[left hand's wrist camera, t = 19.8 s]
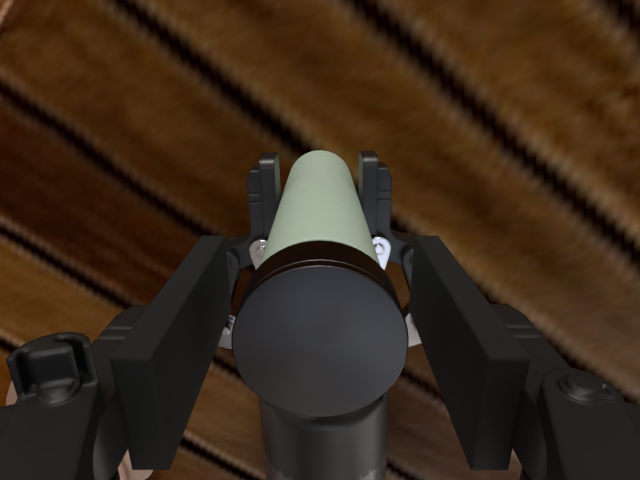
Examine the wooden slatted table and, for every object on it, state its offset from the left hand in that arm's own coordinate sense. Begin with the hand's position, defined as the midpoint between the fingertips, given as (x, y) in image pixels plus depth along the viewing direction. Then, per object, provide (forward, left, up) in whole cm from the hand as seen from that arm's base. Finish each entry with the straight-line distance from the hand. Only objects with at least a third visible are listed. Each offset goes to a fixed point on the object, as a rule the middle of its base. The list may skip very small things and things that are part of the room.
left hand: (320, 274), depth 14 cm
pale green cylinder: (0, 0, -14) cm, 14 cm away
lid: (0, 0, +4) cm, 4 cm away
